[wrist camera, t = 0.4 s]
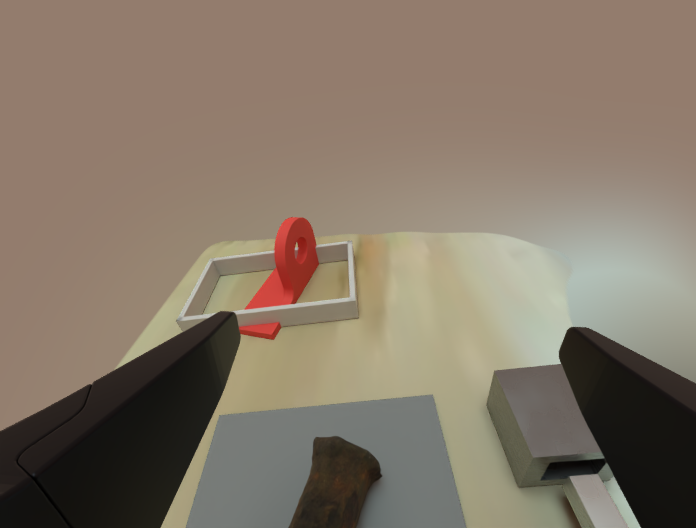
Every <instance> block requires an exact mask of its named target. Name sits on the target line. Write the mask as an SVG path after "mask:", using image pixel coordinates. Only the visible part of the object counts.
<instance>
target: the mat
mask: <svg viewBox="0 0 696 528" xmlns="http://www.w3.org/2000/svg"><path fill="white" fill-rule="evenodd" d="M332 436H339V437H341V438H343V439H344V440H346V441H348V442H351V443H353V444H355V445H357V446H359V447H361V448H364V449H366V450H368V451H369V452H370V453H371V454H372V455H373V456H375V458H376V459H377V460H378V462H379V464H380V468H381V474H382V477H381V478H380V479H379V480H377V481H375V482H374V483H373V484H372V485H371V487H370V488H369V490H368V492H367V495H366V498H365V501H364V504H363V507H362V510H361V513H360V517H359V520H358V524H357V527H356V528H466V524H465V520H464V516H463V512H462V508H461V504H460V500H459V497H458V493H457V489H456V485H455V481H454V477H453V473H452V469H451V465H450V461H449V457H448V453H447V449H446V445H445V441H444V437H443V433H442V430H441V426H440V422H439V418H438V414H437V410H436V406H435V402H434V398H433V395H424V396H414V397H403V398H393V399H383V400H372V401H362V402H352V403H341V404H331V405H321V406H311V407H300V408H290V409H280V410H269V411H259V412H249V413H238V414H228V415H219V419H218V422H217V425H216V429H215V432H214V435H213V439H212V442H211V445H210V449H209V452H208V455H207V459H206V462H205V465H204V469H203V472H202V475H201V479H200V482H199V485H198V489H197V492H196V495H195V498H194V502H193V505H192V508H191V512H190V515H189V518H188V522H187V525H186V528H288V527H289V525H290V523H291V521H292V518H293V515H294V513H295V510H296V508H297V505H298V502H299V499H300V497H301V495H302V493H303V490H304V487H305V485H306V483H307V480H308V478H309V475H310V470H311V466H312V454H313V441H314V439H315V437H332Z"/></svg>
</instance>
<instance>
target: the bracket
mask: <svg viewBox="0 0 696 528" xmlns="http://www.w3.org/2000/svg"><path fill="white" fill-rule="evenodd" d="M296 242H297V243H298V254H297V257H296V258H295V245H296ZM315 247H316V241H315V237H314V233H313V230H312V227H311V225H310V223H309V222H308V221H307V220H306V219H305V218H296V217H295V218H293V217H291V218H288V219H286V220H285V221H284V222H283V223H282V225H281V226H280V228H279V230H278V233H277V237H276V241H275V249H274V256H275V264H276V268H275V269H274V271H273V272H272V273H271V275H270V276H269V277H268V279H267V280H266V281H265V283H264V284H263V285H262V287H261V288H260V289H259V291H258V292H257V293H256V295H255V296H254V297H253V299H252V300H251V301H250V303H249V304H248V305H247V307H246V308H245V309H244V310H247V309H256V308H264V307H273V306H281V305H290V304H295V303H296V302H297V300H298V298H299V297H300V295H301V293H302V292H303V290H304V288H305V287H306V285H307V283H308V282H309V280H310V278H311V277H312V275H313V273H314V272H315V270H316V268H317V267H318V265H319V261H318V257H317V253H316V249H315ZM280 328H281V325H280V323H279V322H276V323H267V324H259V325H250V326H242V327H239V330H240V334H244V335H249V336H255V337H261V338H266V339H272V340H274V338H275V337H276V335H277V333H278V332H279V330H280Z"/></svg>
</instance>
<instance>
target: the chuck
mask: <svg viewBox="0 0 696 528" xmlns="http://www.w3.org/2000/svg"><path fill="white" fill-rule="evenodd" d="M487 407H488V410H489V412H490V415H491V418H492V420H493V423H494V425H495V428H496V430H497V433H498V436H499V438H500V441H501V443H502V446H503V448H504V451H505V454H506V456H507V459H508V461H509V464H510V467H511V469H512V472H513V474H514V477H515V479H516V482H517V485H518V487H532V486H545V485H558V484H564V483H565V481H566V480H567V479H568V477H569V476H579V475H592V474H598V475H599V477H600V479H601V480H602V481H609V480H610V479H611V478H612V477H613V476H614V475H613V473H612V471H611V469H610V468H609V466H608V464H607V462H606V460H605V458H604V456H603V454H602V452H601V450H600V448H599V447H598V445H597V443H596V441H595V439H594V437H593V435H592V433H591V431H590V429H589V428H588V426H587V424H586V422H585V420H584V418H583V416H582V413H581V411H580V409H579V407H578V404H577V402H576V399H575V397H574V394H573V392H572V389H571V387H570V384H569V382H568V379H567V377H566V374H565V372H564V369H563V367H562V364H557V365H547V366H537V367H527V368H517V369H507V370H497V371H494V375H493V379H492V383H491V387H490V392H489V396H488V400H487Z"/></svg>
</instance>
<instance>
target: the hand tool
mask: <svg viewBox="0 0 696 528" xmlns="http://www.w3.org/2000/svg"><path fill="white" fill-rule="evenodd" d="M381 477H382V474H381V468H380V464H379V462H378V460H377V459H376V458H375V456H373V455H372V454H371V453H370V452H369V451H368V450H366V449H364V448H361V447H359V446H357V445H355V444H353V443H351V442H348V441H346V440H344V439H343V438H341V437H339V436H332V437H315V439H314V441H313V454H312V466H311V470H310V475H309V478H308V480H307V483H306V485H305V487H304V490H303V493H302V495H301V497H300V499H299V502H298V505H297V508H296V510H295V513H294V515H293V518H292V521H291V523H290V525H289V527H288V528H356V527H357V524H358V520H359V517H360V513H361V510H362V507H363V504H364V501H365V498H366V495H367V492H368V490H369V488H370V487H371V485H372V484H373V483H374V482H375V481H377V480H379V479H380V478H381Z"/></svg>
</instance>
